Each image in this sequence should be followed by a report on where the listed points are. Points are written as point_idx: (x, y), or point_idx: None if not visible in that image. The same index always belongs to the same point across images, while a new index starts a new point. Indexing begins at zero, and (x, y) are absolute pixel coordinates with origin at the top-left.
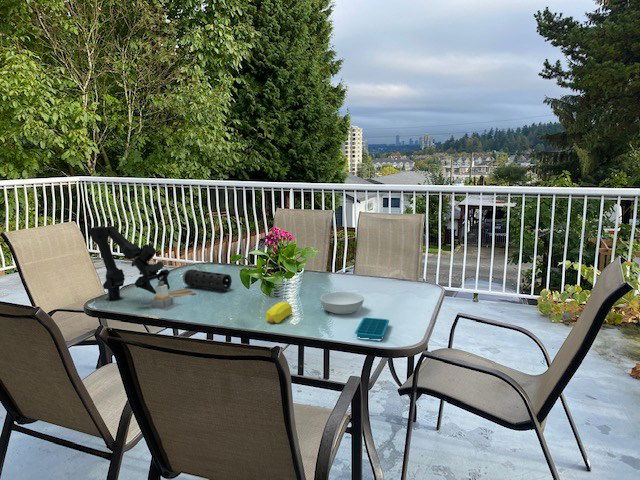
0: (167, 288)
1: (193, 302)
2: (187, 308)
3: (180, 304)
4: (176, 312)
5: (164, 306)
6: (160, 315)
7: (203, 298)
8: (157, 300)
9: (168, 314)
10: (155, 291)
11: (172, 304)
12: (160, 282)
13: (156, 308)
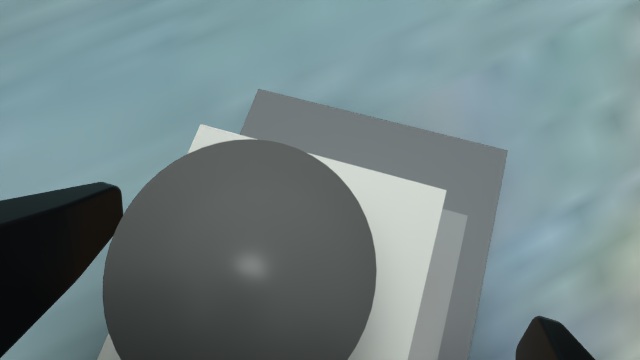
0: (101, 243)
1: (140, 53)
2: (331, 29)
3: (274, 103)
4: (469, 71)
5: None
6: (610, 181)
7: (15, 21)
8: (444, 317)
9: (551, 116)
10: (555, 339)
11: None
12: (368, 227)
13: (471, 313)
